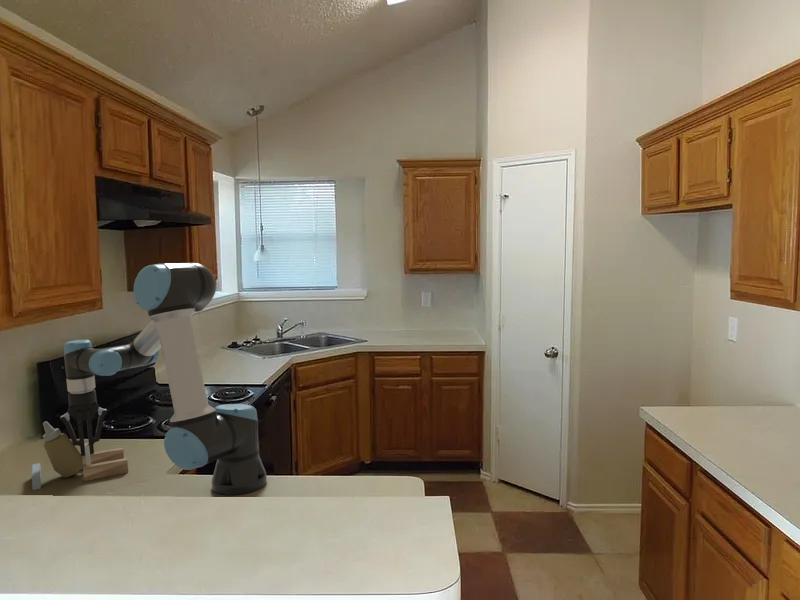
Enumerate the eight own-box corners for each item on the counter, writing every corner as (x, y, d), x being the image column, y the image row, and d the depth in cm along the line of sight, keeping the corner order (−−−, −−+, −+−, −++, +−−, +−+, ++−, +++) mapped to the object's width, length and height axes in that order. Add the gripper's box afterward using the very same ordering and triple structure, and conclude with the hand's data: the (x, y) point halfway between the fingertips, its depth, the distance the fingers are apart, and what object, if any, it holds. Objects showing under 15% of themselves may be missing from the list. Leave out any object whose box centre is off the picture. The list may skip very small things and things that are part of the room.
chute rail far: (124, 461, 190) (123, 449, 189) (82, 468, 183) (81, 456, 183) (123, 459, 191) (122, 447, 191) (81, 467, 185) (80, 454, 185)
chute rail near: (128, 472, 179) (127, 459, 179) (84, 481, 173) (83, 468, 173) (127, 470, 181) (126, 457, 181) (83, 479, 175) (82, 466, 175)
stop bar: (40, 488, 168) (39, 475, 168) (32, 490, 167) (31, 476, 167) (41, 475, 179) (40, 462, 178) (33, 477, 178) (32, 464, 177)
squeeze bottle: (91, 460, 182) (63, 411, 177) (80, 475, 174) (50, 424, 169) (67, 468, 182) (38, 420, 177) (54, 483, 174) (24, 433, 169)
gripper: (104, 385, 185) (110, 456, 187) (57, 391, 178) (64, 465, 181) (106, 389, 178) (112, 464, 181) (57, 396, 172) (65, 473, 174)
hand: (88, 464), depth 181 cm, fingers closed
